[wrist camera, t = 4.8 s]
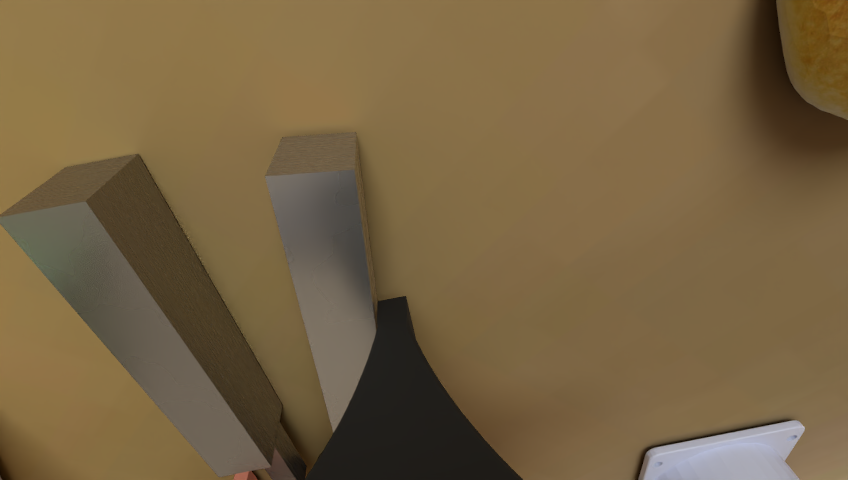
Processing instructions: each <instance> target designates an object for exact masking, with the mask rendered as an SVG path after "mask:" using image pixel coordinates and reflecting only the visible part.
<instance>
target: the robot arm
mask: <svg viewBox="0 0 848 480" xmlns="http://www.w3.org/2000/svg"><path fill="white" fill-rule="evenodd" d="M377 326H378V328H377V331H376V335H375V338H374V341H373V344H372V347H371V350H370V353H369V357H368V359H367V362H366V365H365V367H364V370H363V372H362V375H361V377H360V380H359V382H358V385H357V387H356V389H355V392H354V394H353V396H352V398H351V400H350V402H349V405H348V407H347V409H346V411H345V413H344V415H343V417H342V418H341V420H340V422H339V424H338V426H337V428H336V429H335V431H334V433H333V435H332V437H331V438H330V440H329V442H328V444H327V445H326V447H325V449H324V451H323V452H322V454H321V455H320V457H319V459H318V460H317V462H316V463H315V465H314V466H313V468H312V469H311V471H310V472H309V474H308V475H307V477H306V478H305V480H523V479H522V478H521V477H520V476H519V475H518V474H517V473H516V472H515V471H514V470H513V469H512V468H511V467H510V466H509V465H508V464H507V463H506V462H505V461H504V460H503V459H502V458H501V457H500V456H499V455H498V454H497V453H496V452H495V451H494V449H493V448H492V447H491V446H490V445H489V444H488V443H487V442H486V441H485V440H484V438H483V437H482V436H481V435H480V434H479V432H478V431H477V430H476V429H475V428H474V426H473V425H472V424H471V423H470V422H469V420H468V419H467V418H466V417H465V416H464V414H463V413H462V412H461V411H460V409H459V408H458V407H457V405H456V404H455V403H454V401H453V400H452V398H451V397H450V396H449V394H448V393H447V391H446V390H445V389H444V387H443V386H442V384H441V383H440V381H439V380H438V378H437V376H436V375H435V373H434V372H433V370H432V368H431V367H430V365H429V363H428V362H427V360H426V358H425V356H424V355H423V353H422V351H421V349H420V347H419V345H418V343H417V341H416V338H415V333H414V329H413V325H412V321H411V316H410V312H409V308H408V303H407V299H406V296H403V297H398V298H393V299H388V300H382V301H378V305H377ZM804 430H805V427H804V426H803V425H802V424H801V423H800V422H799V421H796V420H792V421H787V422H782V423H777V424H771V425H766V426H761V427H756V428H751V429H746V430H741V431H736V432H731V433H726V434H721V435H716V436H711V437H705V438H700V439H695V440H690V441H685V442H680V443H675V444H670V445H665V446H660V447H655V448H652V449H650V450H649V451H647V453H646V455H645V458H644V462H643V465H642V469H641V472H640V476H639V479H638V480H800V479H799V478H798V477H797V476H796V474H795V473H794V472H793V471H792V469H791V468H790V467H789V466H788V465H787V463H786V462H785V459H786V458H787V456H788V455H789V453H790V452H791V450H792V449H793V447H794V446H795V444H796V443H797V441H798V440H799V438H800V437H801V435H802V434H803V432H804Z"/></svg>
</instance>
